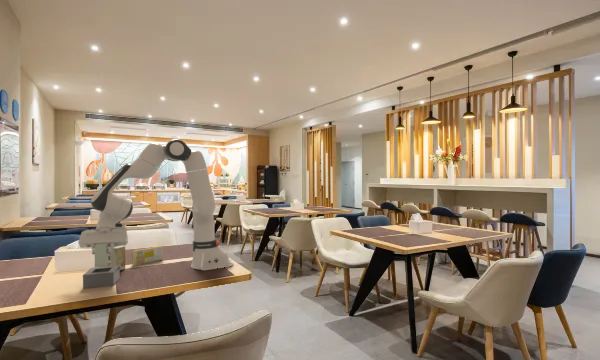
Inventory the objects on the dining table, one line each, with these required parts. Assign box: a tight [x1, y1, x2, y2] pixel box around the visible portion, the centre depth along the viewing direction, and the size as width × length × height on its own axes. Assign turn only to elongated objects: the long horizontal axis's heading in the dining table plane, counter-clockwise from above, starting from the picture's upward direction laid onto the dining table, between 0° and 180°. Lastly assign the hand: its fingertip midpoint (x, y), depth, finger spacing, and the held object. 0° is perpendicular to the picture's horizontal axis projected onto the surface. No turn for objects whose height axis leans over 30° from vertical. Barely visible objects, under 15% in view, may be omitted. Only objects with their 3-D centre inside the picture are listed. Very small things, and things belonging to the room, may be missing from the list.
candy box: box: [131, 245, 163, 266], centre depth 187 cm, size 16×2×8 cm, turn 136°
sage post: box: [94, 243, 109, 268], centre depth 151 cm, size 4×4×10 cm
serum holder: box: [82, 265, 121, 289], centre depth 151 cm, size 12×12×6 cm
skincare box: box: [109, 245, 126, 271], centre depth 172 cm, size 6×4×12 cm
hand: (101, 253), depth 150 cm, fingers closed on sage post, 4 cm apart
